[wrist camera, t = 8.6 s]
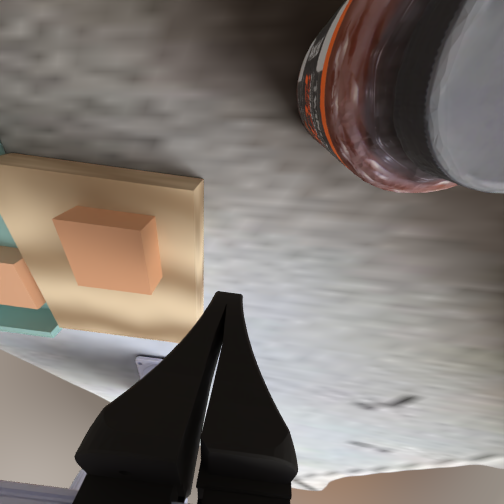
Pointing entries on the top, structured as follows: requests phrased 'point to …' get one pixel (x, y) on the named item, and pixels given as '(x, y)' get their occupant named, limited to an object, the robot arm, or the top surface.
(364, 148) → the supplement bottle
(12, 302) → the tile
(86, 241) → the tile
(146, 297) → the board
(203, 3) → the top surface
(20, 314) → the tray
